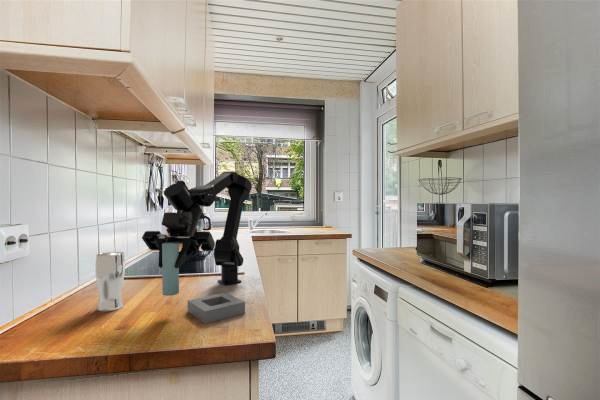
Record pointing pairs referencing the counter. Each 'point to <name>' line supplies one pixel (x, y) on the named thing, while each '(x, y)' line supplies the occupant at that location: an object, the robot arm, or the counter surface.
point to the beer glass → (110, 280)
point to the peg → (170, 269)
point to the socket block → (216, 307)
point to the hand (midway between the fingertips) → (167, 267)
